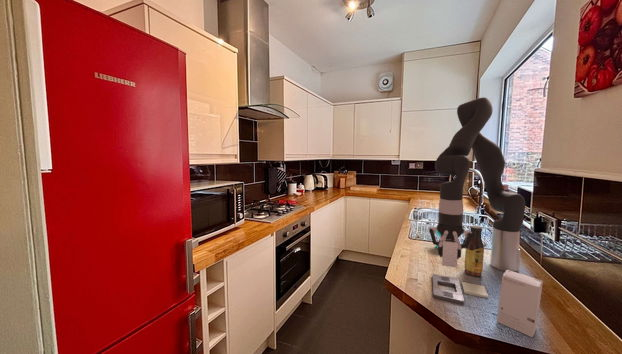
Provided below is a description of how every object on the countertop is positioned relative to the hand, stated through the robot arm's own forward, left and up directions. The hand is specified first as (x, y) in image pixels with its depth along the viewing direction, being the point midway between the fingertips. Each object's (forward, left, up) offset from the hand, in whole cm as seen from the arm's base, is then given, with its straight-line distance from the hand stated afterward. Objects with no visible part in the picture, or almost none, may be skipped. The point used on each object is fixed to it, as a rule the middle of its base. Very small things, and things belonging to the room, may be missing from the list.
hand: (449, 256), depth 87 cm
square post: (0, 0, -3) cm, 3 cm away
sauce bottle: (-11, -18, -13) cm, 25 cm away
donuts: (-3, -43, -13) cm, 45 cm away
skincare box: (-17, +13, -13) cm, 25 cm away
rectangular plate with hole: (0, 0, -12) cm, 12 cm away
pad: (-9, -3, -12) cm, 15 cm away
